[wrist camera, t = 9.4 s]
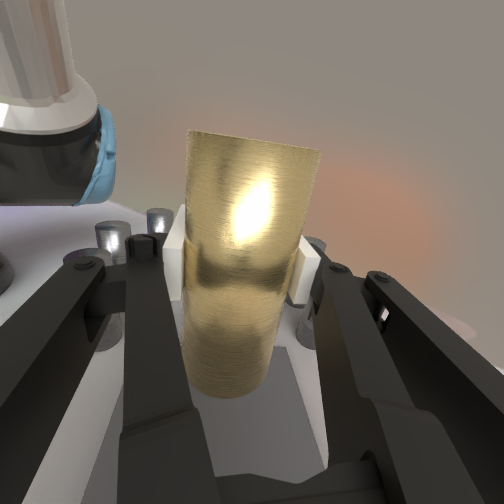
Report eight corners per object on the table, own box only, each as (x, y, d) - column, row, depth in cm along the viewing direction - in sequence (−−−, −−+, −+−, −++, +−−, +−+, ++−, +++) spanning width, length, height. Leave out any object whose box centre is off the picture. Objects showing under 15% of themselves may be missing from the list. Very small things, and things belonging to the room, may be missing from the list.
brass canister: (162, 362, 15) (155, 124, 9) (219, 315, 19) (238, 136, 14) (236, 420, 12) (289, 146, 7) (282, 351, 17) (337, 152, 11)
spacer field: (69, 352, 24) (46, 265, 20) (126, 263, 39) (120, 204, 35) (333, 349, 29) (361, 281, 25) (292, 272, 45) (305, 222, 40)
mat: (35, 647, 11) (30, 644, 10) (136, 353, 25) (136, 348, 25) (354, 580, 14) (359, 576, 13) (284, 351, 28) (285, 346, 28)
